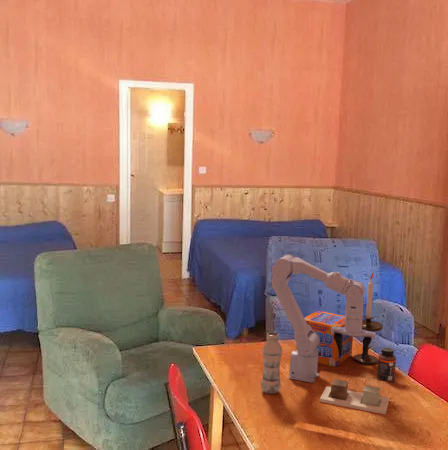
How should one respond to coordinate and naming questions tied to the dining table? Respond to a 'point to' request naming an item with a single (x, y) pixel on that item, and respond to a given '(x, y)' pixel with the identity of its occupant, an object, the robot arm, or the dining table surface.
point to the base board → (355, 401)
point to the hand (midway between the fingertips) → (351, 356)
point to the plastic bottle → (271, 364)
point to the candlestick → (369, 328)
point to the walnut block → (339, 389)
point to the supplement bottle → (386, 365)
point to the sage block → (371, 395)
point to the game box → (329, 337)
